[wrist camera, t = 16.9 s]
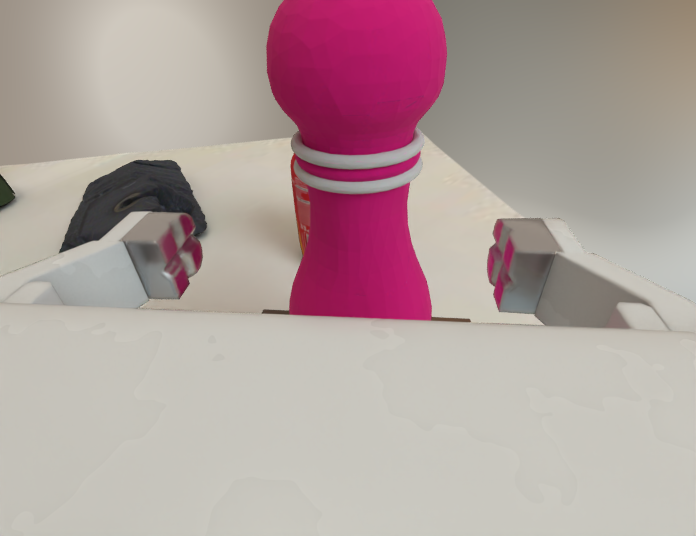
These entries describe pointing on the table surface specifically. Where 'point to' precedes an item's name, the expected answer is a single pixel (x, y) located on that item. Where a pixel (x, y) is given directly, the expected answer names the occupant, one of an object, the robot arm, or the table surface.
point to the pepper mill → (358, 146)
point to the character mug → (5, 192)
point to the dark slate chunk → (131, 199)
